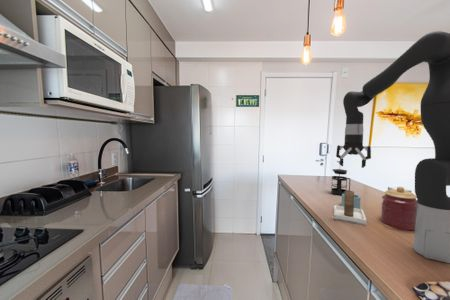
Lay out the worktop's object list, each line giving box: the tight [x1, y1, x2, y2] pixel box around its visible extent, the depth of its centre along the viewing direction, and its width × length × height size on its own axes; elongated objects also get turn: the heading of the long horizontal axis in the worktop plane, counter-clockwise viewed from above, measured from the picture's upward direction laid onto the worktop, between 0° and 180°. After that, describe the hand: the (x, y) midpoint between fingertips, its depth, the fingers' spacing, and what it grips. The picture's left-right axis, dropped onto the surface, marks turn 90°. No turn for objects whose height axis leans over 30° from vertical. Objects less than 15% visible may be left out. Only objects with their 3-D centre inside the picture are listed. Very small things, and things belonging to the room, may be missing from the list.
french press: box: [330, 160, 351, 197], centre depth 138 cm, size 12×9×23 cm
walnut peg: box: [344, 190, 355, 217], centre depth 101 cm, size 4×4×12 cm
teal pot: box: [341, 193, 361, 209], centre depth 114 cm, size 9×9×7 cm
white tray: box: [333, 205, 368, 226], centre depth 102 cm, size 15×13×2 cm
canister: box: [380, 186, 417, 231], centre depth 92 cm, size 13×13×18 cm
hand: (352, 166), depth 100 cm, fingers open, 8 cm apart
